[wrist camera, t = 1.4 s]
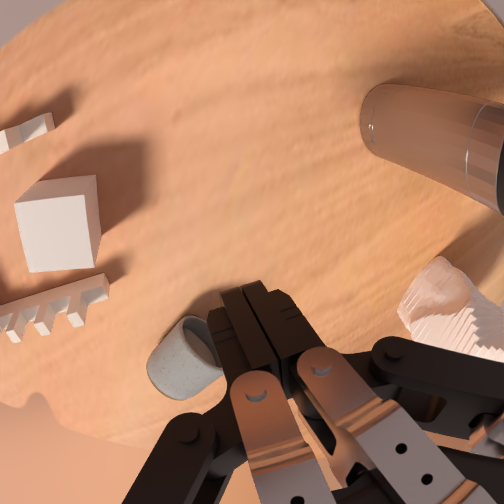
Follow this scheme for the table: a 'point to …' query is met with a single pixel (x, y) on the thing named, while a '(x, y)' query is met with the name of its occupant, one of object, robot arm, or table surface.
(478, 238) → the table surface
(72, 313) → the notched wall frame
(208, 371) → the ceramic mug
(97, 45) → the table surface
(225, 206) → the table surface
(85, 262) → the white cube
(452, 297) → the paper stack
